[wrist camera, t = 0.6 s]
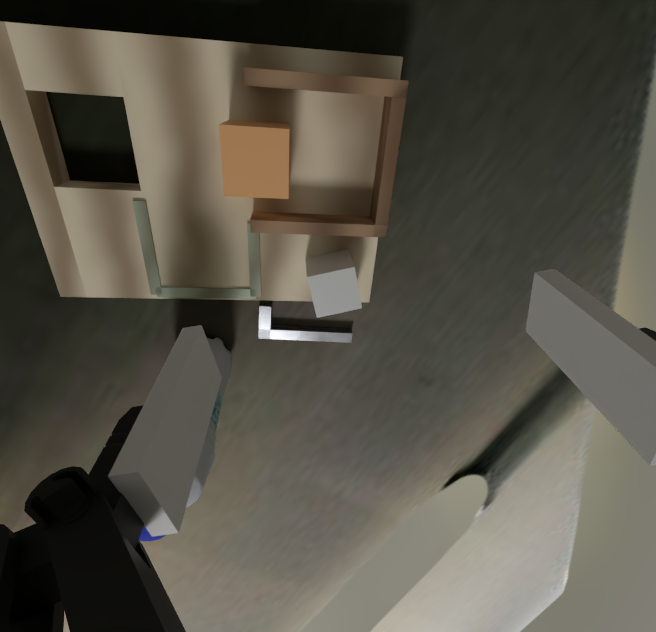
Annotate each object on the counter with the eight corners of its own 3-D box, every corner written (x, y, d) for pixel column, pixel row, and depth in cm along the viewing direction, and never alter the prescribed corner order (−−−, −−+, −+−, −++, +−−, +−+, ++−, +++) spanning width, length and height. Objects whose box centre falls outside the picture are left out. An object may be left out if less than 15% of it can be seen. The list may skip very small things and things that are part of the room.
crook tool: (259, 332, 41) (258, 338, 40) (260, 300, 39) (259, 306, 38) (349, 336, 42) (350, 342, 41) (354, 305, 40) (356, 311, 39)
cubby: (253, 223, 32) (250, 232, 30) (247, 69, 26) (243, 67, 24) (379, 228, 33) (385, 237, 31) (399, 81, 27) (408, 80, 25)
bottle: (161, 354, 41) (68, 542, 24) (197, 315, 39) (123, 490, 22) (212, 384, 44) (162, 572, 27) (248, 349, 42) (218, 528, 25)
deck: (74, 284, 36) (59, 297, 34) (-8, 24, 26) (-37, 17, 24) (364, 290, 39) (369, 303, 37) (394, 59, 29) (403, 56, 27)
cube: (232, 182, 30) (224, 196, 26) (228, 119, 28) (218, 124, 24) (289, 185, 31) (288, 199, 27) (289, 123, 28) (289, 129, 24)
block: (314, 296, 36) (317, 317, 33) (305, 258, 34) (306, 277, 31) (355, 287, 36) (361, 308, 33) (348, 249, 34) (354, 266, 30)
